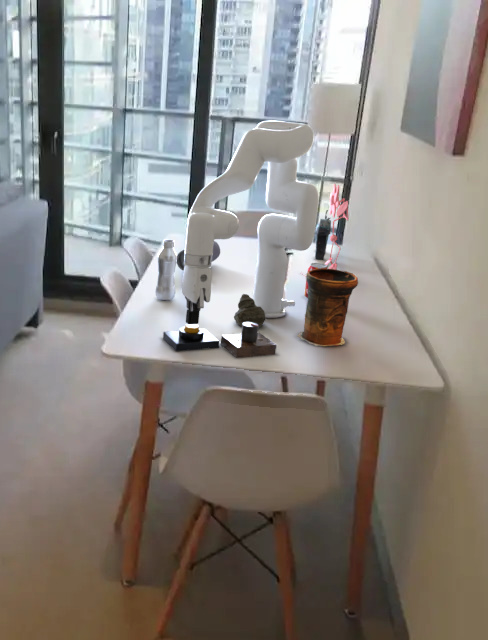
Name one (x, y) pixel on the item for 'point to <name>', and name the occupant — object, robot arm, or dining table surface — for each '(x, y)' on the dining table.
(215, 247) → the bluetooth speaker
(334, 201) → the figurine
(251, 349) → the dial panel
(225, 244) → the dining table surface
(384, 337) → the dining table surface
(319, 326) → the vessel
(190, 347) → the button box
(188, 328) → the button
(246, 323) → the dial
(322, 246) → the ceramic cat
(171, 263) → the plastic bottle
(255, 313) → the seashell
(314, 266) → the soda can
